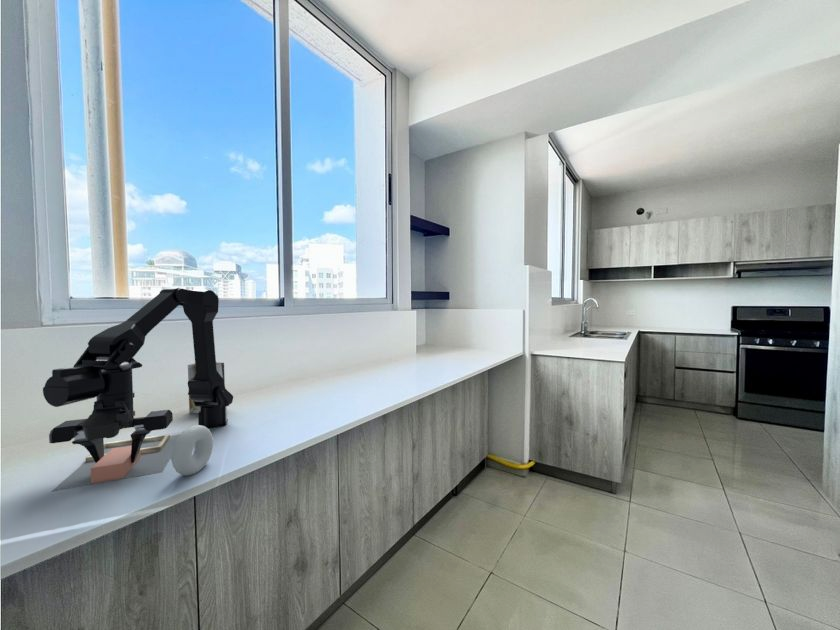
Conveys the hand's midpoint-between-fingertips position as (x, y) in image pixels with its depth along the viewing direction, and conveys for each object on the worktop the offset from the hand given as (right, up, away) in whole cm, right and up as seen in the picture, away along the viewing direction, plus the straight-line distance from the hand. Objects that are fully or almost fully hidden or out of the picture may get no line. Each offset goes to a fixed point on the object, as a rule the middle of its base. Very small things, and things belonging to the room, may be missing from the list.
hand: (117, 464), depth 71 cm
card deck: (0, -1, 0) cm, 1 cm away
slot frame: (-6, -1, +10) cm, 12 cm away
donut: (+17, -2, 0) cm, 17 cm away
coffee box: (-7, 0, +41) cm, 41 cm away
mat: (-2, -1, +6) cm, 6 cm away
